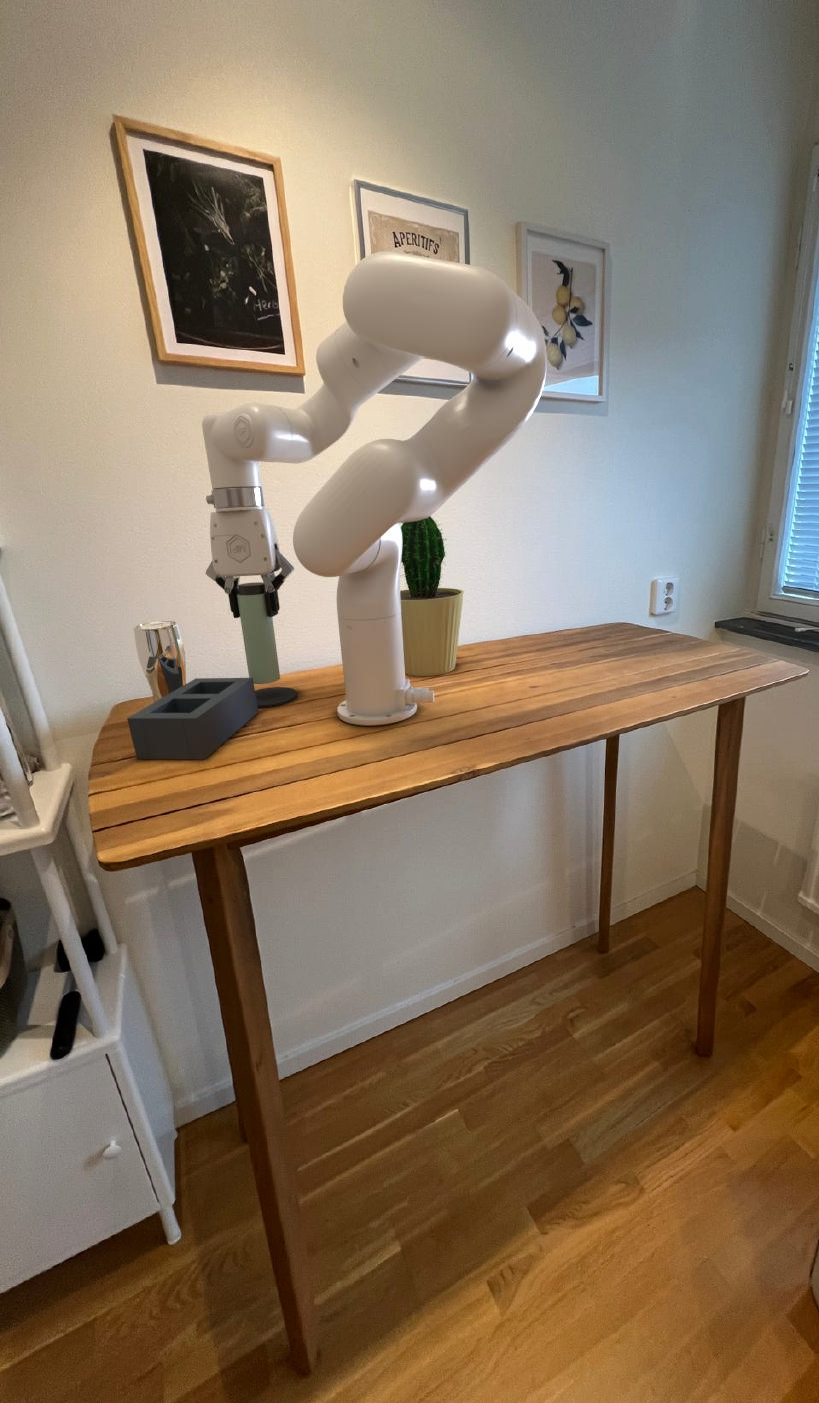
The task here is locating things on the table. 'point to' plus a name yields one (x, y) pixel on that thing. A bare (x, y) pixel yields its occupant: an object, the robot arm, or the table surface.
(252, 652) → the bottle
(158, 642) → the chrome tumbler
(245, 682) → the holder
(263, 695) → the coaster
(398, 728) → the table surface
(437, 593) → the potted cactus
